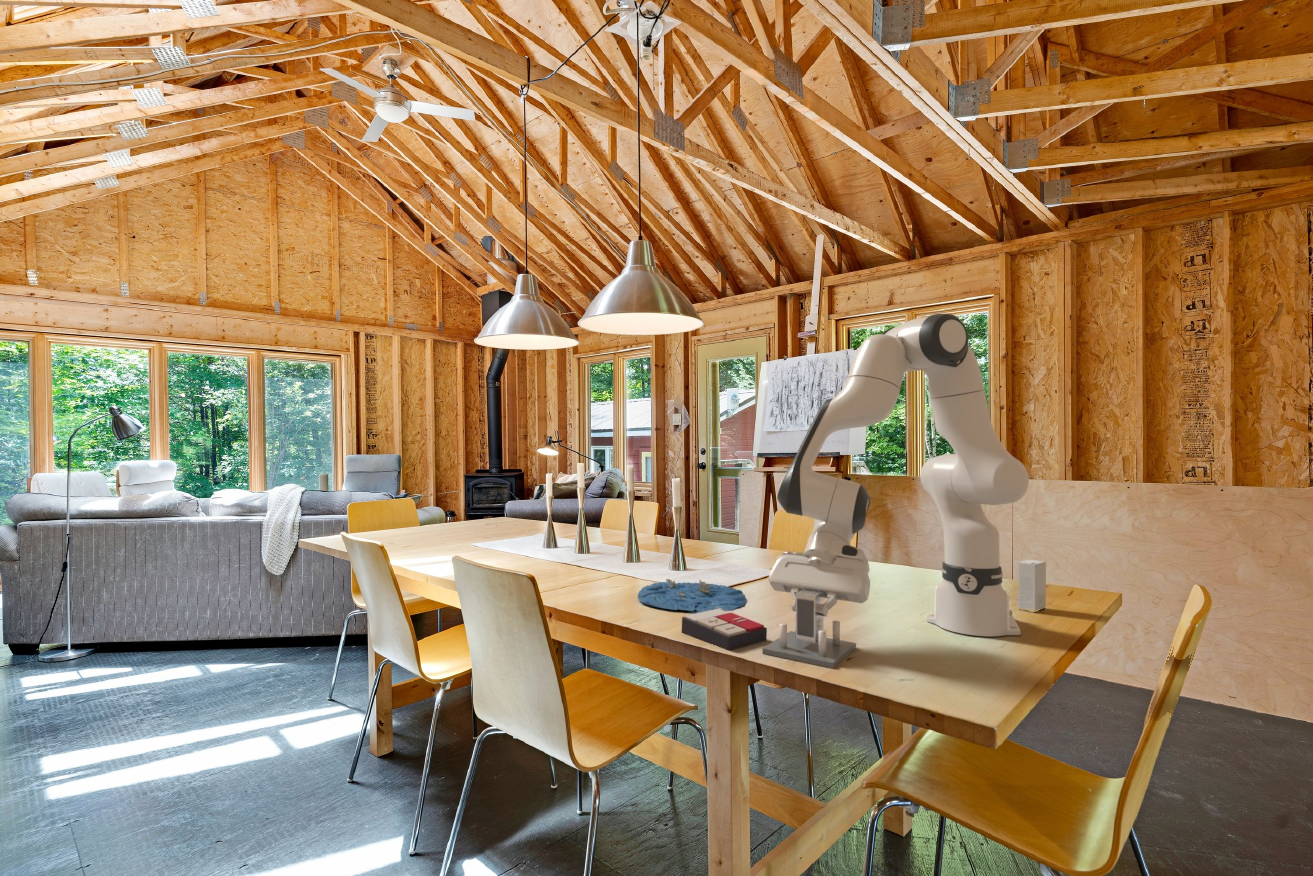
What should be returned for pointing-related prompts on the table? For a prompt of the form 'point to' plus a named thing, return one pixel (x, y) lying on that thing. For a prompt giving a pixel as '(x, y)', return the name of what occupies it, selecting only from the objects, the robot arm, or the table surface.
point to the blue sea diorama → (691, 596)
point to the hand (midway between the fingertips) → (808, 612)
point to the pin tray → (811, 647)
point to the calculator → (723, 629)
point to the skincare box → (1032, 585)
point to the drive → (808, 615)
